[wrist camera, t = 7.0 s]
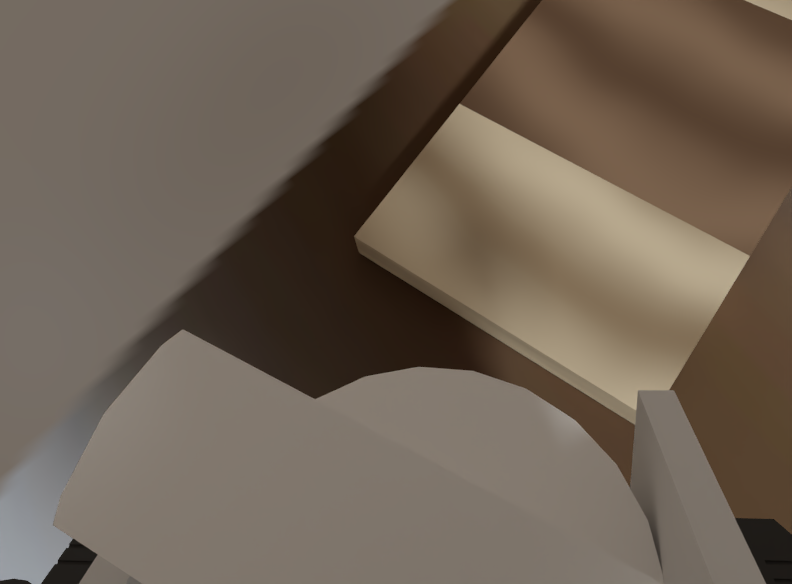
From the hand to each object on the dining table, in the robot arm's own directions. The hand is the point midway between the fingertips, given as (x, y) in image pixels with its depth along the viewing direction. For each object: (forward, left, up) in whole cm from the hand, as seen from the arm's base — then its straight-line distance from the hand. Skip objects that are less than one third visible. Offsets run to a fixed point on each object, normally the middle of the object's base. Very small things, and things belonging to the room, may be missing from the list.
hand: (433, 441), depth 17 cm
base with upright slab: (+1, +3, -5) cm, 6 cm away
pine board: (-13, -14, -11) cm, 22 cm away
